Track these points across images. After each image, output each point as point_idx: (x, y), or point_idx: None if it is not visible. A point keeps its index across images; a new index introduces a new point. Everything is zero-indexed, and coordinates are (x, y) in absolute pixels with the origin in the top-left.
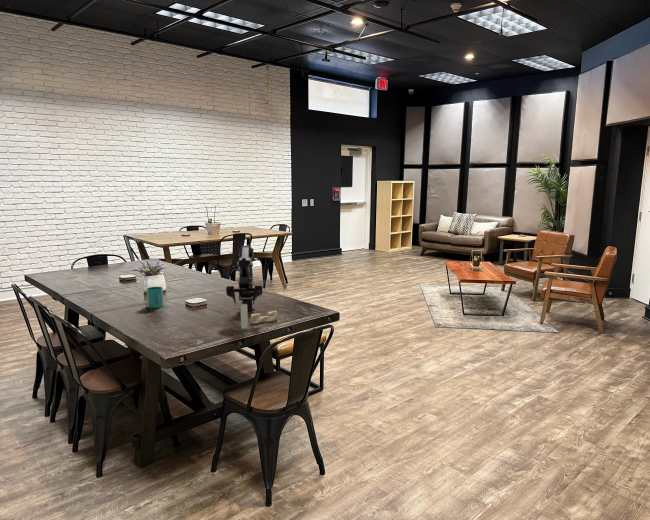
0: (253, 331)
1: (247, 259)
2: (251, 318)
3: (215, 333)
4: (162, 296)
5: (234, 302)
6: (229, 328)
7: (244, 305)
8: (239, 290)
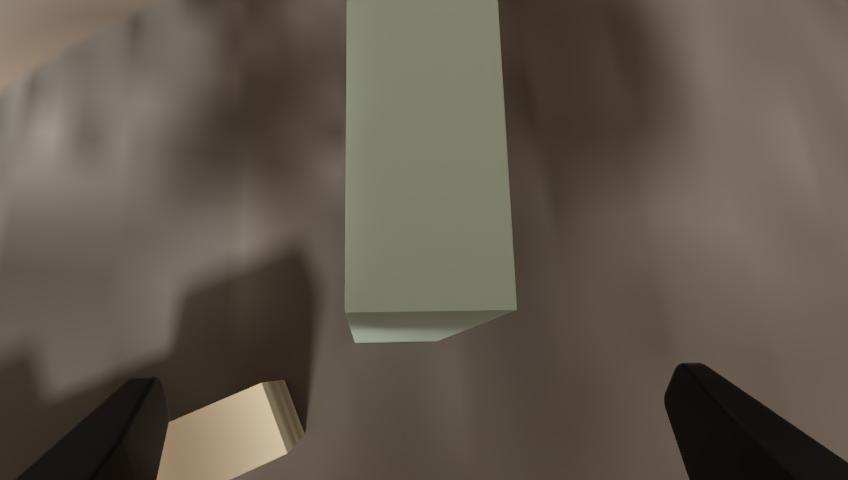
0: (275, 41)
1: None
2: (290, 426)
3: (701, 42)
4: None
5: (739, 390)
6: (580, 201)
7: (413, 154)
8: None
